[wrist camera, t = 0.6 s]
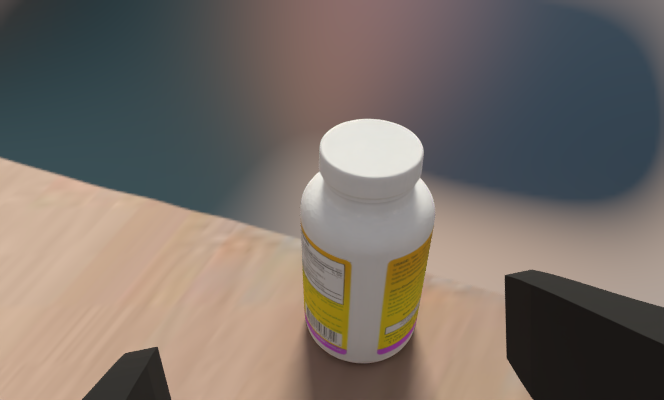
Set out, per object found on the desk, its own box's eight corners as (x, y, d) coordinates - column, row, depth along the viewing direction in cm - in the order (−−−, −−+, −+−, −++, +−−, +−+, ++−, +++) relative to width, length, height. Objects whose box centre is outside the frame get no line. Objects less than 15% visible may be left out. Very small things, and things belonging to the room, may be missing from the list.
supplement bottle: (413, 281, 34) (443, 111, 26) (416, 373, 30) (454, 199, 21) (310, 274, 35) (307, 103, 26) (297, 363, 30) (287, 188, 21)
